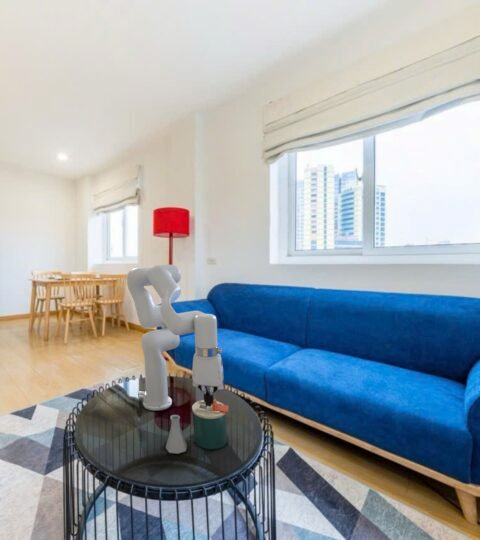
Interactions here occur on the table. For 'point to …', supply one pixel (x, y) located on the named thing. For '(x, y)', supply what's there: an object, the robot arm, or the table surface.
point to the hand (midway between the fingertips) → (208, 404)
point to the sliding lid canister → (209, 426)
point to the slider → (220, 407)
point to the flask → (176, 437)
